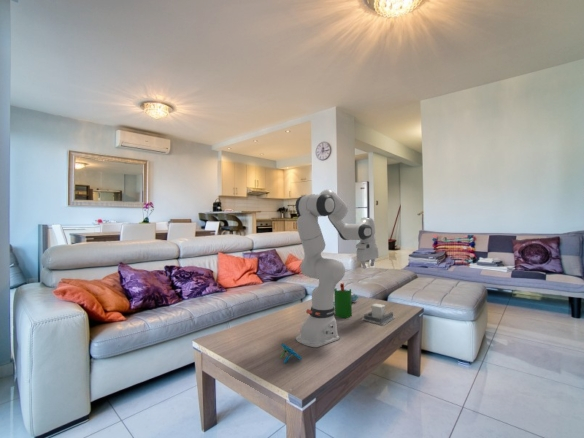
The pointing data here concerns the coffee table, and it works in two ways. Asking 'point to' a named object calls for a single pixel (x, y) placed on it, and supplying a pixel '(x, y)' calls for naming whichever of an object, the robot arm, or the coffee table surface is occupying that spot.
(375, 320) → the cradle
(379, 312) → the cream rectangular block
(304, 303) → the coffee table surface
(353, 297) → the owl figurine
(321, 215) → the robot arm
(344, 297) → the motor
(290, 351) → the blue green branched frame
